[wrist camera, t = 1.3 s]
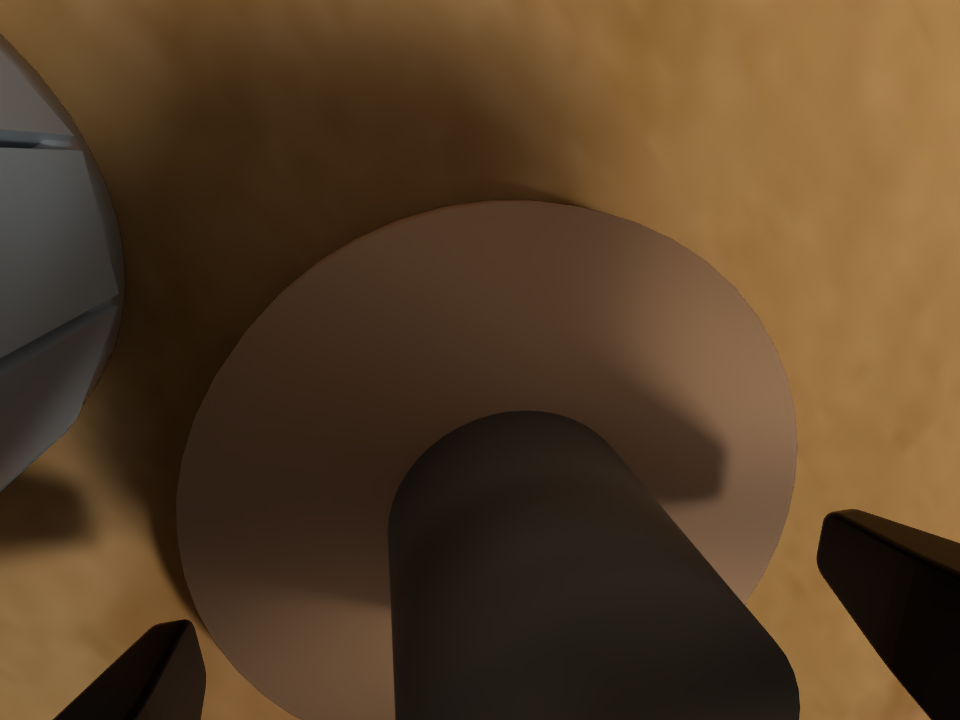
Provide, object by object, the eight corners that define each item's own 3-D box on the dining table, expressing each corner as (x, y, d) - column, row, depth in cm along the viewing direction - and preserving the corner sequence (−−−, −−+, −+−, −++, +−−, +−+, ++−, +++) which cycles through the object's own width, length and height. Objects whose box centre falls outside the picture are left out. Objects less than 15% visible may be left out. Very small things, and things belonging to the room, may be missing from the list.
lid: (735, 656, 13) (949, 947, 8) (259, 753, 11) (178, 1180, 6) (790, 176, 9) (1219, 188, 5) (121, 226, 8) (-253, 319, 3)
